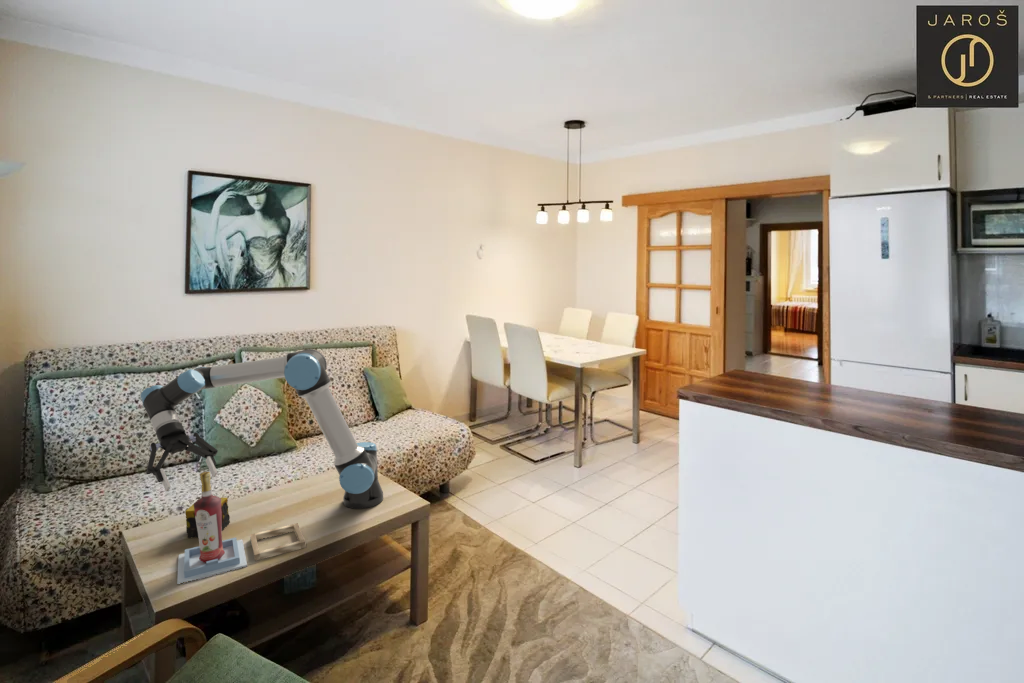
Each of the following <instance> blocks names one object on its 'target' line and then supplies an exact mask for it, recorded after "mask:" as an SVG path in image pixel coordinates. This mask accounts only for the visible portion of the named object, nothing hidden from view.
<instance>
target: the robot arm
mask: <svg viewBox="0 0 1024 683" xmlns="http://www.w3.org/2000/svg"><path fill="white" fill-rule="evenodd" d="M327 363H328V362H327V359H326V358H325V355H324V354H323V353H322V352H320V351H319V350H317V349H313V348H312V349H311V348H308V349H303V350H299V351H295V352H288V353H286V355H285V356H280V357H272V358H266V359H259V360H251V361H244V362H237V363H230V364H223V365H216V366H211V367H209V366H208V367H206V366H200V367H196V368H194V369H191V368H190V369H187V370H186V371H184V372H182V373H180V374H179V375H178V376H177V377H175V378H173V379H172V380H171V381H169V382H168V383H167V384H165V385H159V384H156V385H151V386H150V387H146V388H145V389H144V390H143V391H142V392H141V393H140V399H141V402H142V407H143V408H144V410H145V412H146V415H147V416H148V418H149V421H150V423H151V426H152V428H153V429H154V430H153V431H154V432H155V435H156V437H157V440H158V443H155V442H151V443H150V446H149V448H148V449H149V453H150V455H149V459H148V463H147V466H146V471H145V473H146V475H150V474H152V475H153V476H155V479H156V481H157V482H158V483H162V486H163V488H164V491H165V493H166V492H169V491H170V489H171V484H170V482H169V479H168V477H167V475H166V472H165V470H164V468H162V466H163V465H164V463H165V461H166V460H167V458H168V456H169V454H177V453H178V452H179V453H181V452H184V451H186V452H191V453H193V454H195V455H197V456H199V457H201V458H204V459H205V463H206V465H207V468H208V470H209V472H210V475H211V476H212V478H215V477H216V476H217V475H218V470H217V468H216V465H217V461H216V460H215V457H216V455H217V454H218V450H217V448H216V447H214V446H213V445H211V444H210V443H209V442H207V441H206V440H204V439H203V438H202V437H201V436H200V435H199V434H198V432H194V433H193V434H192V435H188V434H187V432H186V430H185V428H184V426H183V424H182V423H181V420H180V417H179V415H178V413H177V411H176V408H175V407H177V405H180V404H181V403H182V402H184V401H185V400H187V399H188V398H190V397H191V396H193V395H194V394H197V393H198V392H201V391H202V390H207V389H213V388H220V387H226V386H233V385H238V384H239V385H240V384H247V383H252V382H261V381H262V382H263V381H267V380H275V379H281V378H284V379H285V381H286V382H287V384H288V385H289V386H290V387H292V388H293V389H294V391H295V392H296V394H297V396H298V397H299V398H302V399H305V401H306V403H307V405H308V407H309V409H310V411H311V413H312V415H313V416H314V419H315V420H316V422H317V424H318V426H319V429H320V430H321V432H322V434H323V436H324V439H325V440H326V442H327V444H328V446H329V448H330V450H331V451H332V454H333V455H334V457H335V458H334V461H333V465H334V467H335V469H336V472H337V473H338V475H339V476H338V481H339V485H340V486H341V488H342V489H343V491H344V494H343V498H342V501H343V505H344V506H345V507H347V508H349V509H359V510H360V509H367V508H371V507H375V506H377V505H378V504H381V503H382V501H384V491H383V488H382V486H381V485H380V484H381V483H380V482H379V475H378V455H377V454H378V453H377V452H378V449H377V444H376V443H374V442H369V441H368V442H367V441H363V442H361V441H360V442H357V441H356V439H355V436H354V435H353V433H352V431H351V428H350V427H349V425H348V423H347V421H346V419H345V417H344V415H343V413H342V411H341V409H340V406H339V405H338V403H337V401H336V399H335V397H334V395H333V393H332V391H331V389H330V385H331V379H330V377H329V375H328V373H327V371H326V370H327V366H328V364H327ZM195 444H196V445H195ZM159 449H162V450H163V453H162V455H161V457H160V459H159V461H158V463H157V464H156V466H155V467H154V464H155V458H156V455H157V454H156V453H157V451H158V450H159Z"/></svg>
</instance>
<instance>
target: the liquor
mask: <svg viewBox="0 0 1024 683" xmlns="http://www.w3.org/2000/svg"><path fill="white" fill-rule="evenodd" d="M199 477H200V482H201V497H200V498H198V499H197V500H196V501H195V502H194V503H193V504H194V511H195V519H196V525H197V531H198V542H199V546H200V554H201V555H200V557H199V559H200V560H201V561H203V562H205V563H206V561H210V560H214V559H218V560H219V559H220V558H221V557H222V556H223V555H224V553H225V552H224V550H223V546H222V541H223V531H222V511H221V498H222V497H219V496H217V495H213V490H212V485H211V478H212V477H211V472H210V471H204V472H200V473H199Z"/></svg>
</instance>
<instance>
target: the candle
mask: <svg viewBox="0 0 1024 683" xmlns="http://www.w3.org/2000/svg"><path fill="white" fill-rule="evenodd" d="M220 498H221V511H222V532H223V531H224V530H225V529H226V528H225V527H228V526H229V523H231V521H230V518H231V517H230V513H229V506H228V505H229V504H228V497H220ZM184 512H185V522H186V527H185V528H186V532H185V533H186V535H187V538H188V539H192V538H191V537H198V531H197V525H196V519H195V511H194V503H193V504H192V505H190V506H189V507H188V508H187V509H185V511H184ZM227 525H228V526H227ZM224 528H225V529H224Z"/></svg>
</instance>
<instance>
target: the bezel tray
mask: <svg viewBox="0 0 1024 683" xmlns="http://www.w3.org/2000/svg"><path fill="white" fill-rule="evenodd" d="M222 546H223V550H224V552H225V553H224V555H223V556H222V557H221V558H220V559H219V560H218V559H214V560H210V561H206V563H205V562H203V561H201V560H200V559H199V557H200V555H201V554H200V545H199V546H195V547H191V548H186V549H184V553H180V554H178V563H177V577H176V578H177V580H176V581H177V582H176V584H180V583H183V582H187V581H191V582H193V581H192V580H195V581H197V580H196V579H198V580H201V579H205V577H206V578H208V577H209V578H210V577H212V575H213V576H216V574H217V575H220V573H221V574H224V573H227V571H228V572H231V571H230V570H232V571H234V570H235V569H236V570H238V569H239V570H240V569H242V567H243V568H246V567H248V563H247V558H246V552H245V547H244V546H245V545H244V541H243V539H238V540H237V537H231V538H228V539H227V538H226V539H224V540H223V539H222ZM223 572H224V573H223ZM187 583H188V582H187ZM183 584H184V583H183ZM180 585H181V584H180Z"/></svg>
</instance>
